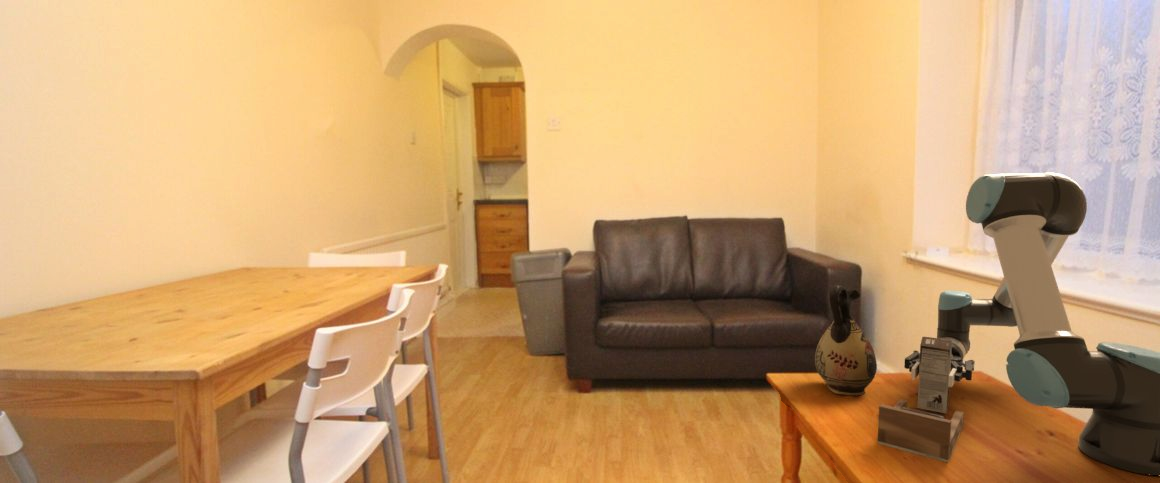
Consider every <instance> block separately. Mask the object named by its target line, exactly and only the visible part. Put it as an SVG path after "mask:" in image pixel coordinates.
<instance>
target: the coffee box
mask: <svg viewBox="0 0 1160 483" xmlns="http://www.w3.org/2000/svg"><path fill="white" fill-rule="evenodd" d="M919 345H920V346H919V347H920V348H919V350H920V351H919V352H920V364H919V374H918V386H917V387H918V388H917V406H916V407H917V409H921V410H926V411H927V410H928V411H932V412H937V413H941V414H948V412H949V402H950V388H951V387H949V386H948V380H949V374H950V372H951V352H952V341H951V340H943V339H938V338H937V337H931V336H930V337H929V336H922V338H921V340H920V344H919Z"/></svg>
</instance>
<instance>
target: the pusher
mask: <svg viewBox="0 0 1160 483" xmlns="http://www.w3.org/2000/svg"><path fill="white" fill-rule="evenodd" d="M902 409H904V410H908V411H912V412H917V413H921V414H925V415H930V416H934V417H938V418H943V419H945V416H944V415H941V414H936V413H932V412H929V411H923V410H919V409H915V408H910V407H907V408H906V407H903V408H902Z"/></svg>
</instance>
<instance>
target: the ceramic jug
mask: <svg viewBox="0 0 1160 483" xmlns="http://www.w3.org/2000/svg"><path fill="white" fill-rule="evenodd" d="M860 297H861V293H860V292H859V290H857V289H855V288H851V289H850V290H847V288H846V287H845V286H841V285H838V284H837V285H834V286H831V288H830V290H829V305H830V310H831V312H832V318H833V321H832V322H831V324H829V326H828V327H827V329H825V331H824V333H823V334H822V335H821V337H820V339H819V342H818V344H817V346H816V350H815V354H814V365H815V368H816V371H817V373H818V375H819V376H820V378H821V379H822V380H823V381H824V383H825V384H826V386H827V388H828V390H829V391H831V392H832V393H834V394H836V395H844V396H845V395H846V396H857V397H858V396H862V395H864V394H866V391H865V390H866V388H867V387H868V386H869V385H870V384H871V383H872V382H873V380H874V379H875V377H876V374H877V367H878V364H877V358H876V354H875V351H874V348H873V346H872V344H871V342H870V341H869V339H868V337H867V335H865V332H864V331H863V330H862V328H861V327H860V326H859V325H858V323H857V322H856V321H855V319H854V317H853V316H852V315H851V307H852V304H853V302H854V301H855V302H856V300H857V299H859V298H860Z"/></svg>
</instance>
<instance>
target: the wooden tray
mask: <svg viewBox="0 0 1160 483" xmlns="http://www.w3.org/2000/svg"><path fill="white" fill-rule="evenodd" d="M903 407H906V408H908V399H905V398H899V399H898V400H897V402H896V403H895V405H894V406H890V405H886V404H881V403H880V404H879V406H878V423H877V425H878V427H877V443H878V445H879V444H880V445H883V446H888V447H890V448H894V449H898V450H902V451H905V452H908V453H912V454H916V455H919V456H923V457H927V458H931V459H935V460H938V461H942V462H946V463H949V462H950V459H951V457H952V454H953V452H954V450H955V447H956V444H957V441H958V439H959V436H960V434H961V431H962V429H963V427H964V426H963V424H964V411H959V410H954V413H953V415H952V418H951V419H946V418H944V419H943V418H938V417H934V416H930V415H925V414H921V413H917V412H912V411H908V410H904V409H902V408H903Z"/></svg>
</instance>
